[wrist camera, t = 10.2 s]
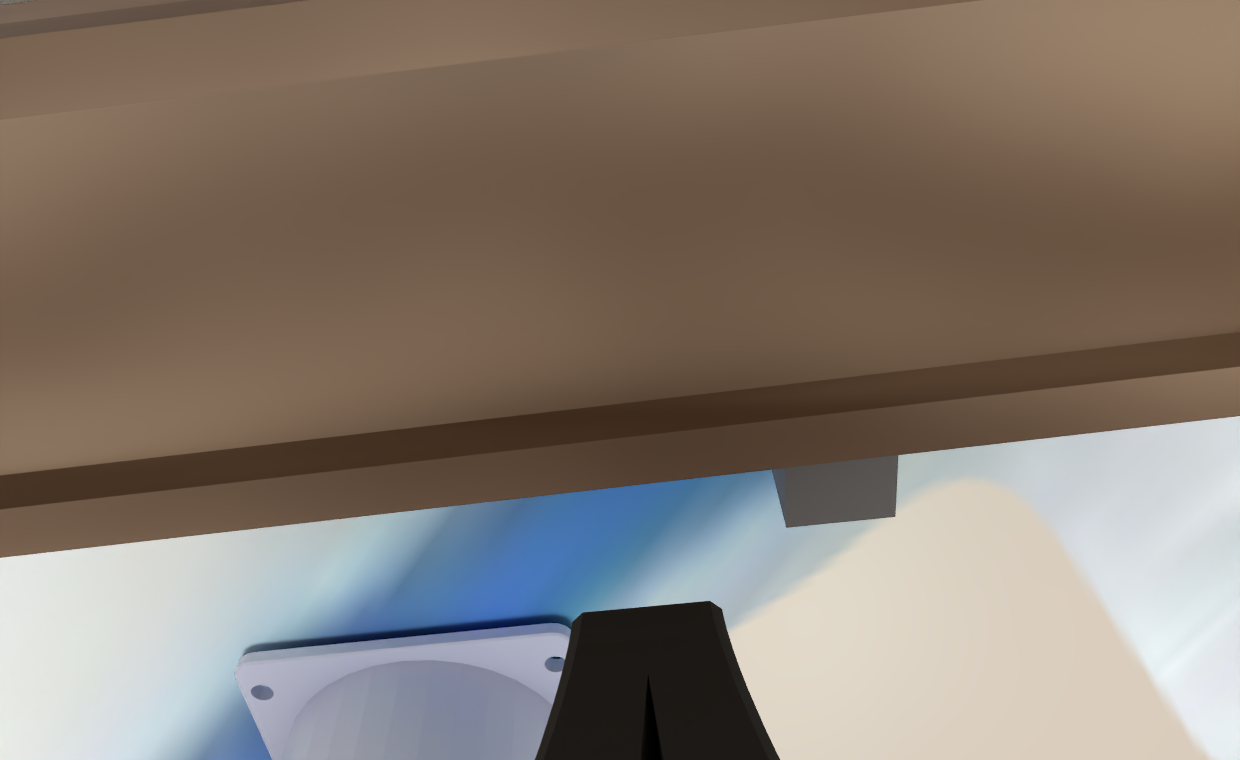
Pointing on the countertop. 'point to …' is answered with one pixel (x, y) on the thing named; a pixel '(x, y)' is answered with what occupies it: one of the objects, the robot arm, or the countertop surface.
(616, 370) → the beam
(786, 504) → the stand
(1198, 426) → the countertop surface
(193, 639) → the countertop surface
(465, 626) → the countertop surface
